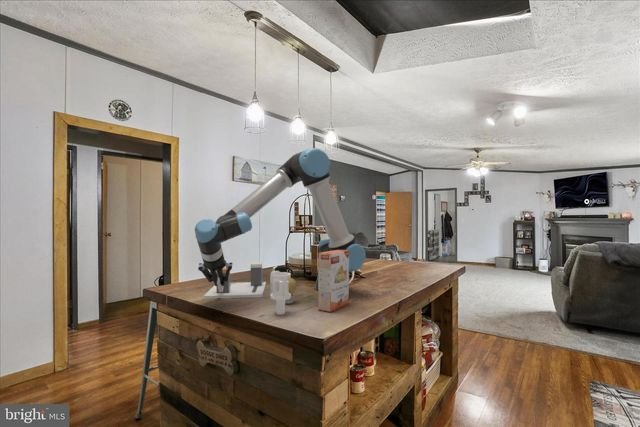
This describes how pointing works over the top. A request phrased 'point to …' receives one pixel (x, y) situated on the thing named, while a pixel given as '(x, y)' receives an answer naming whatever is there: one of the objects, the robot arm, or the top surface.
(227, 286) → the block
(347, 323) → the top surface
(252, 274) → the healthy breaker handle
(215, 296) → the plate
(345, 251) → the cracker box
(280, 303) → the white stepped cylinder
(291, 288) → the light bulb
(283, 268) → the medicine bottle
